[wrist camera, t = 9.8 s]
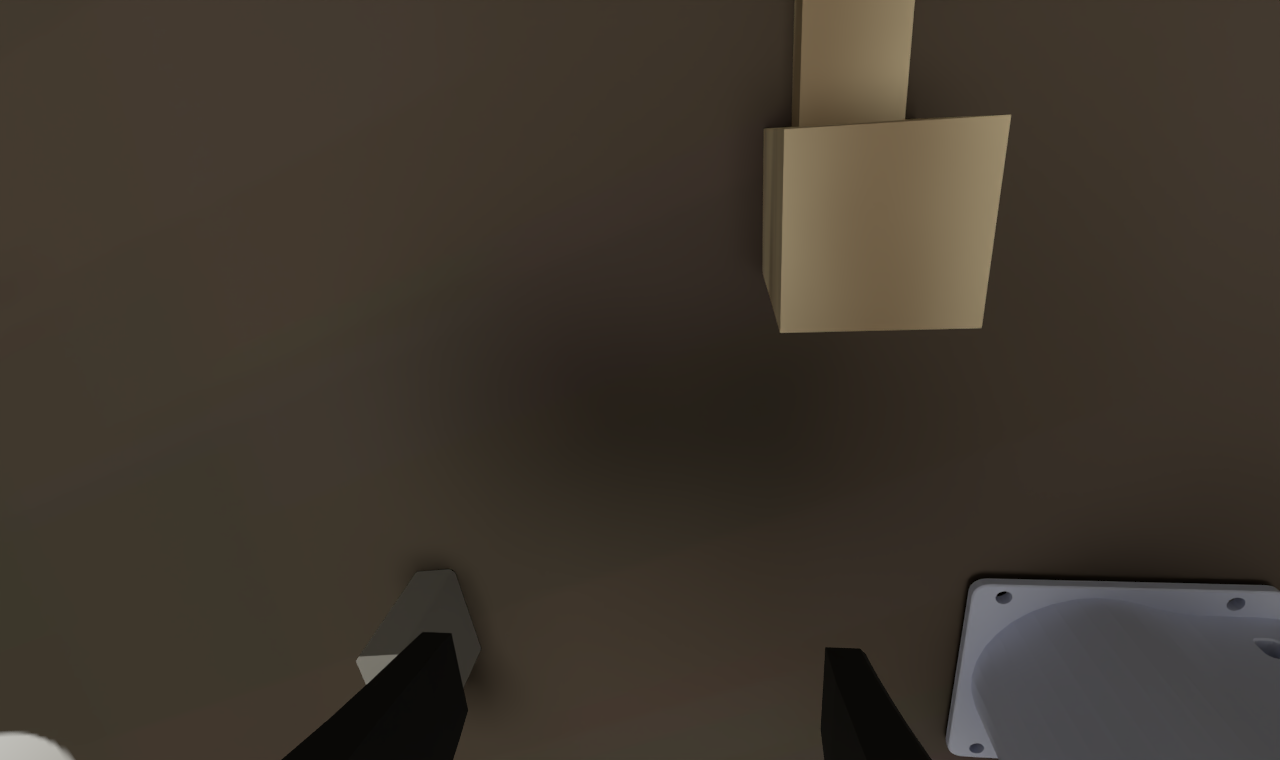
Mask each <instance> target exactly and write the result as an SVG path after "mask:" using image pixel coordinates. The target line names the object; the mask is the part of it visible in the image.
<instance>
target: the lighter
mask: <svg viewBox="0 0 1280 760" xmlns="http://www.w3.org/2000/svg"><path fill="white" fill-rule="evenodd" d="M422 632H438V633H452V637H453V642H454V647H455V651H456V656H457V661H458V665H459V670H460V675H461V680H462V684H463V688H464V686H465V684H466V681H467V679H468V677H469V675H470V673H471V670H472V668H473V666H474V664H475V662H476V659H477V657H478V655H479V653H480V651H481V647H480V644H479V641H478V638H477V635H476V632H475V629H474V626H473V623H472V620H471V617H470V614H469V612H468V609H467V606H466V603H465V600H464V597H463V594H462V591H461V588H460V585H459V582H458V579H457V576H456V573H455V572H454V571H452V570H450V569H445V570H433V571H420V572H416V573H415V575H414V576H413V578H412V579H411V581H410V582H409V584H408V585H407V587H406V588H405V589H404V591H403V592H402V594H401V595H400V597H399V598H398V600H397V601H396V603H395V604H394V606H393V607H392V609H391V610H390V612H389V613H388V615H387V616H386V617H385V619H384V620H383V622H382V623H381V625H380V626H379V628H378V629H377V631H376V632H375V634H374V635H373V637H372V638H371V640H370V641H369V643H368V644H367V645H366V647H365V648H364V650H363V651H362V653H361V654H360V656H359V657H358V659H357V660H356V662H357V665H358V667H359V669H360V672H361V674H362V676H363V679H364V681H365V683H366V685H367V684H368V683H369V682H370V681H371V680H372V679H373V678H374V677H375V676H376V675H377V674H378V673H379V672H380V671H381V670H383V669H384V668H385V667H386V666H387V665H388V664H389V663H390V662H391V661H392V660H393V659H394V658H395V657H396V656H397V655H398V654H399V653H401V652H402V651H403V650H404V649H405V648H406V647H407V646H408V645H409V644H410V643H411V642H412V641H413V640H414V639H415V638H417V637H418V636H419V635H420V634H421V633H422Z"/></svg>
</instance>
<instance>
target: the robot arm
mask: <svg viewBox="0 0 1280 760" xmlns="http://www.w3.org/2000/svg"><path fill="white" fill-rule="evenodd" d="M1004 591H1006V593H1005V594H1004V595H1002V596H996V595H997V594H998V593H1000V592H1004ZM1233 598H1234V599H1233ZM1231 599H1233V600H1232V601H1230V602H1228V601H1229V600H1231ZM467 712H468V708H467V703H466V698H465V694H464V689H463V684H462V680H461V675H460V670H459V665H458V661H457V656H456V651H455V647H454V642H453V637H452V633H438V632H422V633H421V634H420V635H419V636H418V637H417V638H415V639H414V640H413V641H412V642H411V643H410V644H409V645H408V646H407V647H406V648H405V649H404V650H403V651H402V652H401V653H399V654H398V655H397V656H396V657H395V658H394V659H393V660H392V661H391V662H390V663H389V664H388V665H387V666H386V667H385V668H384V669H383V670H381V671H380V672H379V673H378V674H377V675H376V676H375V677H374V678H373V679H372V680H371V681H370V682H369V683H368V684H367V685H366V686H365V687H363V688H362V689H361V690H360V691H359V692H358V693H357V694H356V695H355V696H354V697H353V698H352V699H350V700H349V701H348V702H347V703H346V704H345V705H344V706H343V707H342V708H341V709H340V710H338V711H337V712H336V713H335V714H334V715H333V716H332V717H331V718H330V719H329V720H327V721H326V722H325V723H324V724H323V725H322V726H320V727H319V728H318V729H317V730H316V731H315V732H313V733H312V734H311V735H310V736H309V737H308V738H306V739H305V740H304V741H303V742H302V743H300V744H299V745H298V746H297V747H296V748H295V749H293V750H292V751H291V752H290V753H289V754H288V755H286V756H285V757H284V758H283V759H282V760H453V758H454V755H455V752H456V749H457V745H458V742H459V739H460V736H461V732H462V729H463V725H464V722H465V719H466V715H467ZM821 736H822V744H823V752H824V760H931V758H930V757H929V755H928V754H927V752H926V751H925V749H924V748H923V747H922V745H921V744H920V742H919V741H918V739H917V738H916V736H915V735H914V733H913V732H912V731H911V729H910V728H909V726H908V725H907V723H906V721H905V720H904V718H903V717H902V715H901V714H900V712H899V711H898V709H897V707H896V706H895V704H894V703H893V701H892V699H891V698H890V696H889V695H888V693H887V691H886V690H885V688H884V686H883V685H882V683H881V681H880V679H879V678H878V676H877V674H876V672H875V671H874V669H873V667H872V665H871V663H870V662H869V660H868V658H867V656H866V654H865V653H864V652H863V651H862V650H861V649H854V648H828V647H825V664H824V681H823V699H822V716H821ZM975 743H976V744H975ZM946 744H947V746H948V749H949V750H950V752H951V753H953V754H955V755H958V756H967V757H985V758H998V759H999V760H1280V591H1279V590H1278V589H1277V588H1275V587H1273V586H1269V585H1239V584H1198V583H1156V582H1115V581H1073V580H1032V579H991V578H985V579H979V580H977V581H975V582H974V583H973V584H972V585H970V588H969V591H968V597H967V604H966V610H965V617H964V623H963V629H962V636H961V642H960V649H959V655H958V662H957V668H956V674H955V681H954V687H953V694H952V700H951V707H950V713H949V719H948V726H947V732H946Z"/></svg>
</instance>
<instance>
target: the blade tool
mask: <svg viewBox="0 0 1280 760" xmlns="http://www.w3.org/2000/svg"><path fill="white" fill-rule="evenodd" d="M914 4H915V0H795V3H794V46H793V88H792V127H779V128H764V151H763V266H762V273H763V276H764V280H765V283H766V286H767V290H768V293H769V297H770V300H771V303H772V307H773V310H774V314H775V317H776V320H777V324H778V327H779V331H780V333H798V332H840V331H883V330H925V329H967V328H982V322H983V315H984V307H985V300H986V293H987V286H988V279H989V271H990V264H991V257H992V250H993V242H994V235H995V228H996V221H997V214H998V206H999V199H1000V192H1001V185H1002V178H1003V170H1004V163H1005V156H1006V149H1007V141H1008V134H1009V127H1010V120H1011V115H992V116H968V117H944V118H920V119H905V112H906V100H907V88H908V76H909V64H910V52H911V40H912V28H913V16H914Z"/></svg>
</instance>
